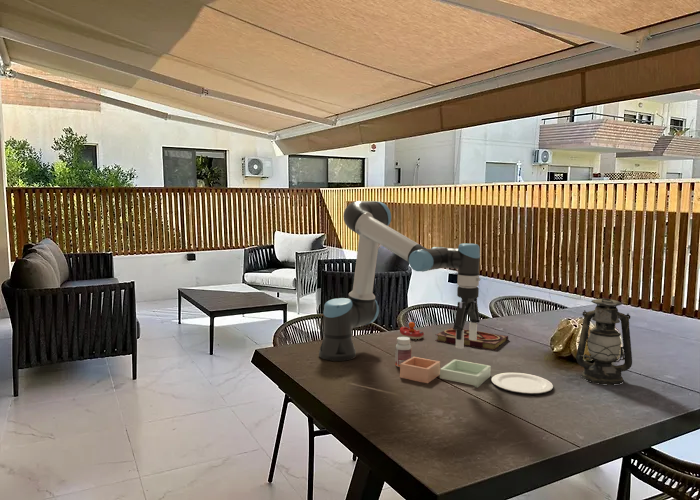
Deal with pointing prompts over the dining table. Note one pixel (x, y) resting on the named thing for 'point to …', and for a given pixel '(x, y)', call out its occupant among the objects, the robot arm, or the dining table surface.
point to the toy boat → (411, 332)
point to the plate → (522, 383)
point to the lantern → (604, 343)
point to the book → (482, 340)
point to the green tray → (465, 372)
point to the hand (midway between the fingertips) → (466, 343)
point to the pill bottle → (402, 350)
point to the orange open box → (420, 369)
